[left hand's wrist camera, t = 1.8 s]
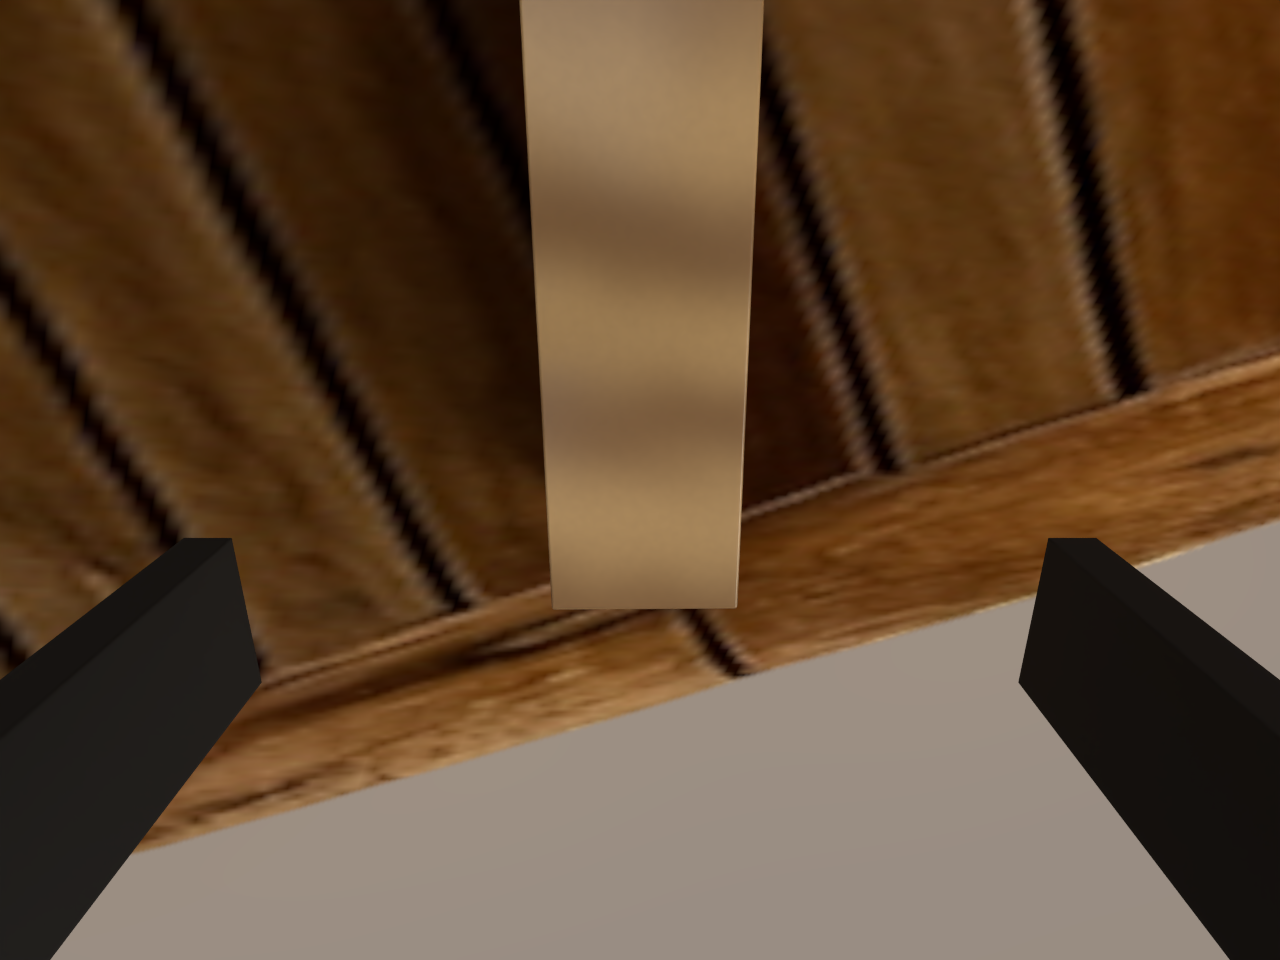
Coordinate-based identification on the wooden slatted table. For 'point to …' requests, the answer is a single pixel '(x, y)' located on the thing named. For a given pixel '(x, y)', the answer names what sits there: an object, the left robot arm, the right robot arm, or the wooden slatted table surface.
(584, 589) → the post
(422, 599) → the wooden slatted table surface
